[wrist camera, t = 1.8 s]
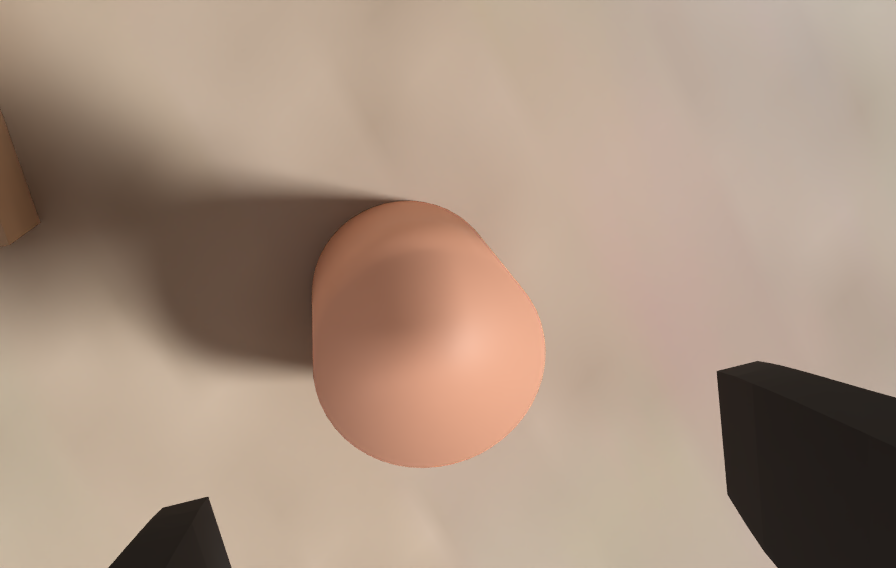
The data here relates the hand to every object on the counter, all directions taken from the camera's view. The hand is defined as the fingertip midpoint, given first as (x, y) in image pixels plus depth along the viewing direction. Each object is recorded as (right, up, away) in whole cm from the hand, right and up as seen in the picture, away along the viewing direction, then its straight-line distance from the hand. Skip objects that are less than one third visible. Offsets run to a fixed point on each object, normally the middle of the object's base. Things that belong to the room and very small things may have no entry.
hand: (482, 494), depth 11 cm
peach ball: (-2, +3, +9) cm, 9 cm away
